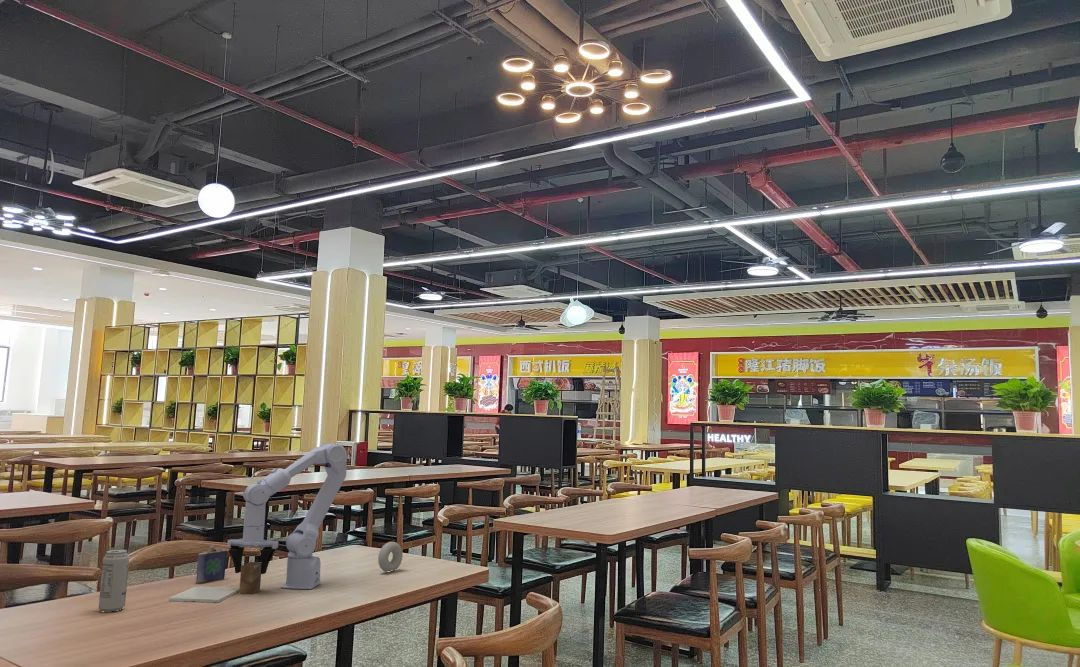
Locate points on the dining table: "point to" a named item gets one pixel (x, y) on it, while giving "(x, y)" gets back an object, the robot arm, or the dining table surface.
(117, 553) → the energy drink can
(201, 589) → the stone board
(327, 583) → the dining table surface
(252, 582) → the walnut block
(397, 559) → the donut
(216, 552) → the flask
